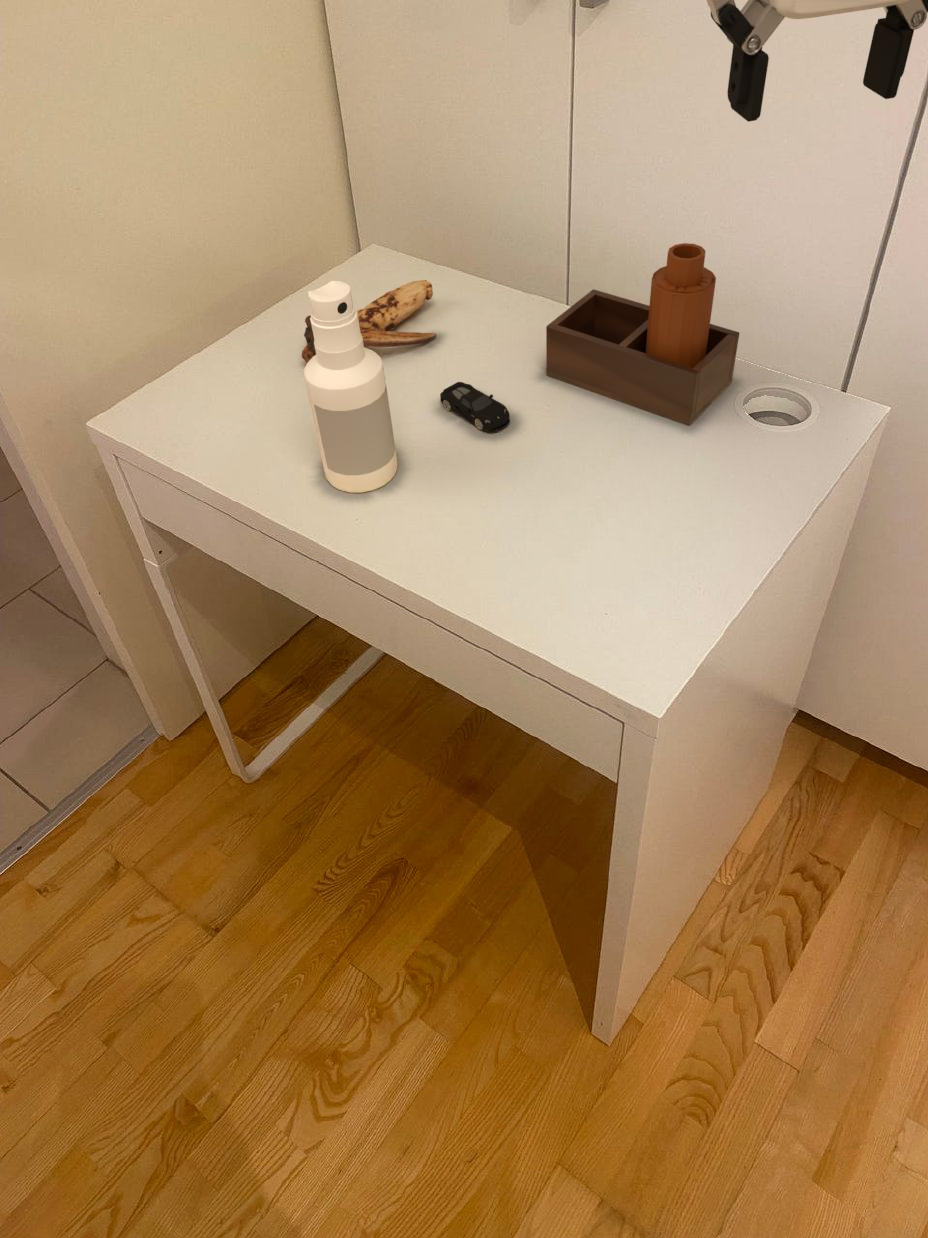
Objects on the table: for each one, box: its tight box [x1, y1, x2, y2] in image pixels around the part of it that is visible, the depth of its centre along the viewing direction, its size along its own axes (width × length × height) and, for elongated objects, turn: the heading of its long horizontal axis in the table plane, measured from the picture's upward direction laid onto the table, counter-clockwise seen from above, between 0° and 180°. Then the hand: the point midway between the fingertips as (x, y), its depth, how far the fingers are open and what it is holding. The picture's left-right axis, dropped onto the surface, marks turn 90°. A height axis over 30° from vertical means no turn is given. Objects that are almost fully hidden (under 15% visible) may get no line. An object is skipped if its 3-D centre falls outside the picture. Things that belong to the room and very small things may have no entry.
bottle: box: [646, 242, 717, 368], centre depth 89 cm, size 6×6×14 cm
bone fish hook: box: [301, 279, 438, 364], centre depth 103 cm, size 9×5×18 cm
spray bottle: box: [303, 280, 399, 493], centre depth 82 cm, size 7×7×18 cm
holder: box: [545, 289, 740, 427], centre depth 94 cm, size 9×16×6 cm, turn 52°
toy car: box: [439, 381, 511, 433], centre depth 93 cm, size 8×4×2 cm, turn 42°
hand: (811, 102), depth 64 cm, fingers open, 9 cm apart
